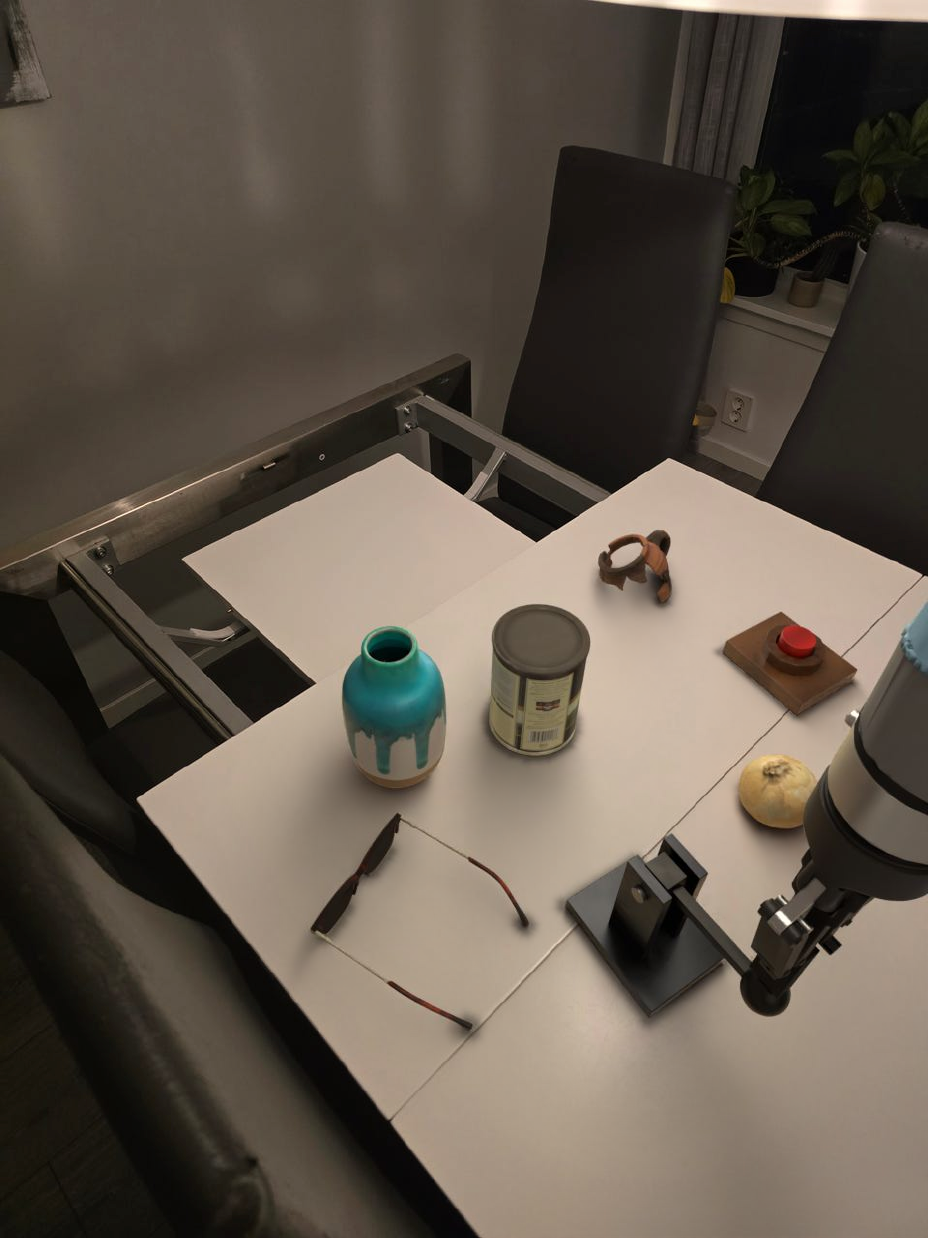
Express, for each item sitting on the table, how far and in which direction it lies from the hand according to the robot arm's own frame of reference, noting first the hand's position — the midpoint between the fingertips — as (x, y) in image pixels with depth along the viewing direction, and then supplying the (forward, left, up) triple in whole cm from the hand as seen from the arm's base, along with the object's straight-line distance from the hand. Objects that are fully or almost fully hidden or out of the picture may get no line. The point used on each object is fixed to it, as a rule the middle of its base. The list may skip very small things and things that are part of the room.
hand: (769, 976), depth 58 cm
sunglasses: (+22, +17, -14) cm, 31 cm away
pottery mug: (+49, -33, -14) cm, 60 cm away
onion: (+14, -21, -14) cm, 29 cm away
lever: (+5, 0, -4) cm, 6 cm away
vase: (+40, +10, -14) cm, 43 cm away
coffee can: (+37, -6, -14) cm, 40 cm away
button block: (+27, -38, -14) cm, 48 cm away
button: (+27, -38, -10) cm, 48 cm away
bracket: (+11, 0, -14) cm, 17 cm away
